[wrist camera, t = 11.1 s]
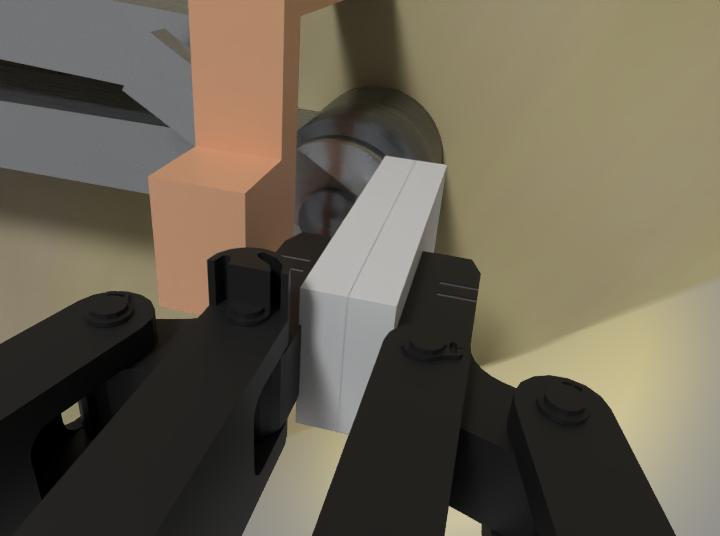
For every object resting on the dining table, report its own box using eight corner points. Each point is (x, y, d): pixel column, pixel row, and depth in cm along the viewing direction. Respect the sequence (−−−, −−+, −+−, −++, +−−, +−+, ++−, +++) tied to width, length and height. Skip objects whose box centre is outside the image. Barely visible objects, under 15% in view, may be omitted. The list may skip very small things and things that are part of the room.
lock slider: (387, -43, 20) (242, -16, 10) (361, 242, 25) (247, 451, 15) (328, -48, 20) (128, -30, 10) (314, 233, 25) (171, 432, 15)
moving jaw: (460, 37, 21) (434, 75, 15) (422, 220, 24) (390, 304, 19) (-223, -89, 24) (-438, -95, 19) (-173, 85, 28) (-343, 122, 22)
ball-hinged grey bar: (452, 95, 22) (433, 136, 17) (432, 225, 24) (411, 288, 20) (-241, 0, 27) (-388, 13, 22) (-200, 115, 29) (-325, 146, 25)
